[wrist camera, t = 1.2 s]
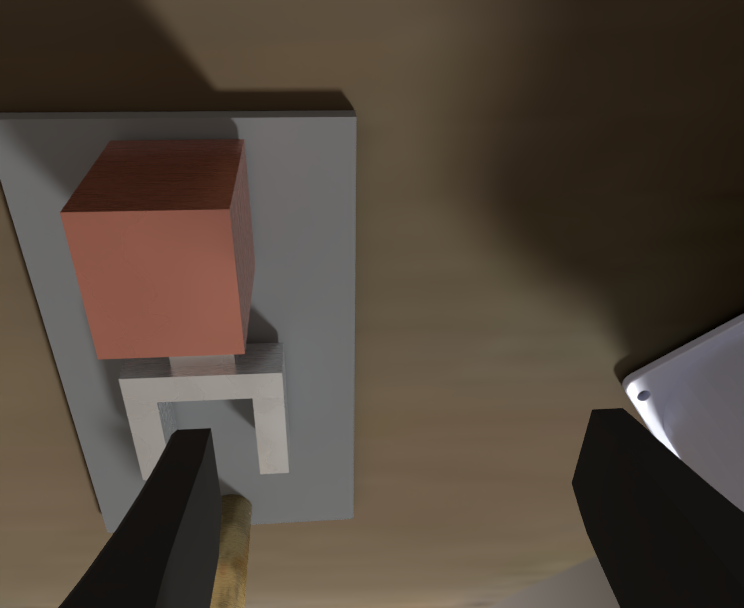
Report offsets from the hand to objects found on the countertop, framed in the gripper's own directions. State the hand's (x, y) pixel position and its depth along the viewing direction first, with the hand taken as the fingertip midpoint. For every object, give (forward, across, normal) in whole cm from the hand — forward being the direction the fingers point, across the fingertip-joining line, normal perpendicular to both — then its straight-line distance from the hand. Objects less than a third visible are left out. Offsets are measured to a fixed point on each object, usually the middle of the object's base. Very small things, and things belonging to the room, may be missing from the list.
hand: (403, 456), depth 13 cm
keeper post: (+10, +5, +12) cm, 16 cm away
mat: (+10, +5, +5) cm, 12 cm away
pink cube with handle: (+9, +5, +3) cm, 11 cm away
